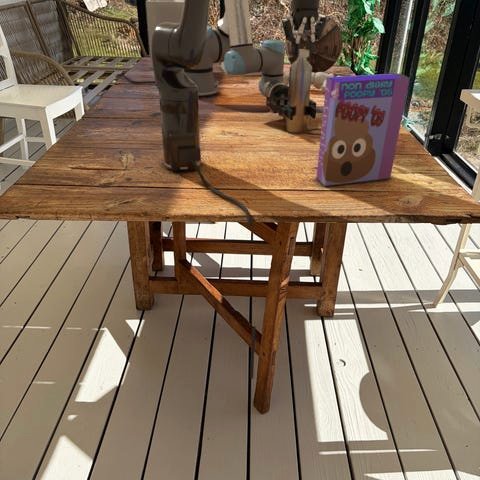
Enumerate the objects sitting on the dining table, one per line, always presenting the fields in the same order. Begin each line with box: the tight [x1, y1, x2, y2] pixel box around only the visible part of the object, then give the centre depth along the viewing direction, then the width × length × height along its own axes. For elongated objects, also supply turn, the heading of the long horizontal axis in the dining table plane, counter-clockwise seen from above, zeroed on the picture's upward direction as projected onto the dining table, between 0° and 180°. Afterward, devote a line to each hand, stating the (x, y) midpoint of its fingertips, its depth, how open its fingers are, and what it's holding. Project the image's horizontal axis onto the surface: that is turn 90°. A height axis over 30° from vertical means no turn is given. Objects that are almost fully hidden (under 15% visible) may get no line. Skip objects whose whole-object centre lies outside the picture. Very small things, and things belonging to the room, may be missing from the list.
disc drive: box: [220, 62, 262, 77], centre depth 217 cm, size 18×22×5 cm
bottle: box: [285, 57, 312, 134], centre depth 142 cm, size 6×6×23 cm
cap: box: [299, 49, 309, 57], centre depth 136 cm, size 4×4×2 cm
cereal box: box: [315, 73, 410, 187], centre depth 109 cm, size 17×5×24 cm, turn 106°
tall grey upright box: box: [145, 0, 184, 70], centre depth 219 cm, size 19×15×28 cm
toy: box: [283, 71, 342, 93], centre depth 188 cm, size 24×25×7 cm
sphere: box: [284, 12, 344, 73], centre depth 209 cm, size 25×25×25 cm
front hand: (301, 56), depth 137 cm, fingers closed on cap, 3 cm apart
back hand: (303, 114), depth 140 cm, fingers closed on bottle, 6 cm apart
